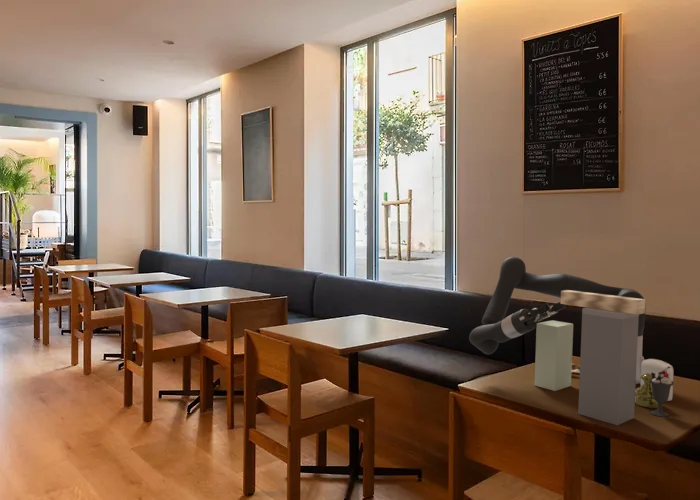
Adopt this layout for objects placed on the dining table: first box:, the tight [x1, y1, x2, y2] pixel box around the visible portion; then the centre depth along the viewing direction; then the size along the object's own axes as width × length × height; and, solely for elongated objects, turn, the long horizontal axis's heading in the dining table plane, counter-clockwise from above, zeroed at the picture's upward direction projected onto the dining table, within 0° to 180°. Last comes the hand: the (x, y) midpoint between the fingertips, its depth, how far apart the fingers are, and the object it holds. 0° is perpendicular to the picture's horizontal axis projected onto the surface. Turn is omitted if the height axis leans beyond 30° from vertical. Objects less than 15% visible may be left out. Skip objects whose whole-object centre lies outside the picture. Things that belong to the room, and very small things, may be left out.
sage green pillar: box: [534, 319, 574, 392], centre depth 204 cm, size 8×10×22 cm
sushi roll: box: [571, 363, 580, 379], centre depth 221 cm, size 15×15×4 cm
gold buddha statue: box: [635, 373, 658, 409], centre depth 185 cm, size 7×7×10 cm
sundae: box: [649, 366, 675, 418], centre depth 176 cm, size 7×7×15 cm
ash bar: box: [560, 290, 646, 315], centre depth 174 cm, size 24×4×4 cm, turn 39°
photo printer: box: [640, 358, 674, 402], centre depth 193 cm, size 10×4×12 cm, turn 26°
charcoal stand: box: [577, 307, 639, 426], centre depth 173 cm, size 12×10×32 cm
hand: (556, 305), depth 186 cm, fingers open, 8 cm apart
